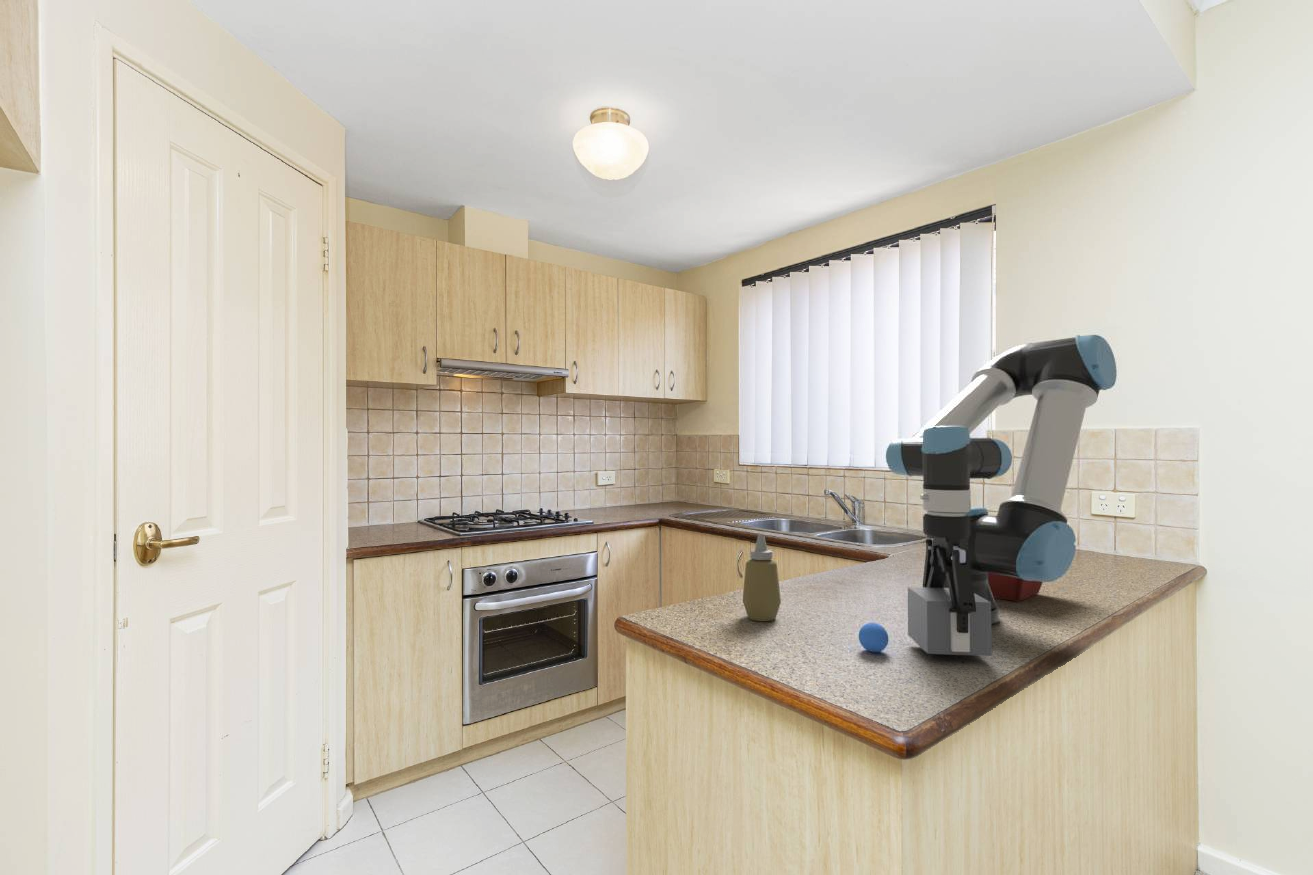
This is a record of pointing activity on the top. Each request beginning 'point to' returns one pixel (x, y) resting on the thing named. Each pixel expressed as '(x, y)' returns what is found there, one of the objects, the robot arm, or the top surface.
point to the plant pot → (1012, 587)
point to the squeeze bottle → (761, 584)
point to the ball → (873, 637)
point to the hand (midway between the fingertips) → (947, 640)
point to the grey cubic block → (945, 622)
